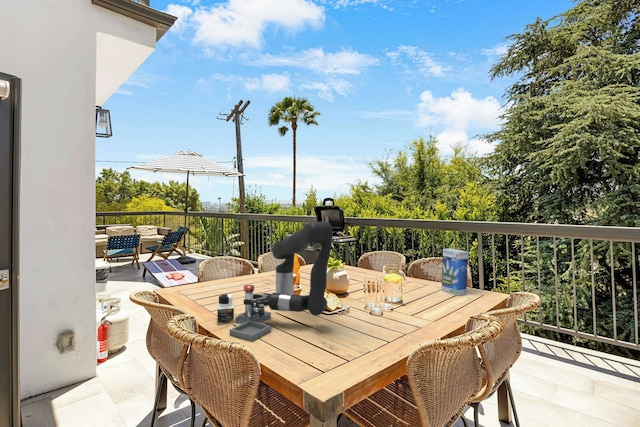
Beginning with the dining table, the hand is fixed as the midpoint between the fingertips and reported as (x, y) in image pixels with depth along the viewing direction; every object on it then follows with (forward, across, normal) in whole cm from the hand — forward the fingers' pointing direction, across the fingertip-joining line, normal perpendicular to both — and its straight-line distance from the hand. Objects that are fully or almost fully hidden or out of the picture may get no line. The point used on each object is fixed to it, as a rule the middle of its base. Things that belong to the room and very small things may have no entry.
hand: (248, 299), depth 158 cm
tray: (-7, +12, +10) cm, 17 cm away
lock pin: (0, 0, +8) cm, 8 cm away
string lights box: (-97, -78, +11) cm, 125 cm away
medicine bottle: (+10, +2, +11) cm, 15 cm away
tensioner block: (-1, -3, +10) cm, 11 cm away
